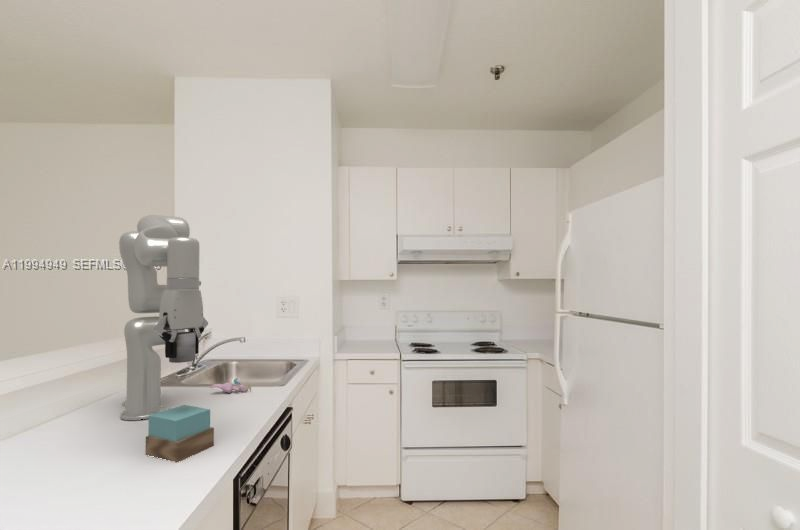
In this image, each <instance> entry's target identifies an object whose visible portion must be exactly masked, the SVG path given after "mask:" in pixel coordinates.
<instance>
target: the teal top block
mask: <svg viewBox="0 0 800 530" xmlns="http://www.w3.org/2000/svg"><path fill="white" fill-rule="evenodd" d="M210 427H211V409H210V408H204V407H200V406H199V407H198V406H194V405H193V406H192V405H187V404H183V405H179V406H176V407H172V408H170V409H166V410H165V411H162V412H159V413H156V414H152V415H149V418H148V432H147V433H148V435H147V436H151V437H156V438H160V439H165V440H169V441H174V442H177V441H179V440H182V439H185V438H187V437H190V436H192V435H195V434H197V433H200V432H203V431H205V430H208V429H210Z"/></svg>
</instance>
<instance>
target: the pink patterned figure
mask: <svg viewBox="0 0 800 530" xmlns="http://www.w3.org/2000/svg"><path fill="white" fill-rule="evenodd" d="M238 380H239V378H237V377H235V378H234V379H233V384H235V385H238V386H233V384H232V383H230V382H225V383H223V384H222V383H215V384H212V385H210V389H214V388H219V389H221V390H222V391H223V392H224V393H227V394H230V393H232V392H233V391H235V392H241V393H247V392H248V389H249V392H250V393H251V391H252V386H250V385H245V384H243V383H242V382H240V381H238Z"/></svg>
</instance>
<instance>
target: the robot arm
mask: <svg viewBox="0 0 800 530" xmlns="http://www.w3.org/2000/svg"><path fill="white" fill-rule="evenodd" d="M190 231H191V228H190V224H189V223H188V221H187V220H186V219H185V218H183V217H180V216H172V215H171V216H169V215H161V214H159V215H158V214H149V215H144V216H143V217H141V218H140V219H139V220H138V222H137V225H136V231H135V230H134V231H133V230H131V231H126V232H123V234H122V235H120V237H119V242H118V244H119V245H118V248H119V254H120V258H121V260H122V263H123V265H124V267H125V271H126V275H127V295H128V296H127V298H128V306H129V310H130V311H131V312H132V313H135V314H156V313H157V314H158V315H157V316H141V317H136V318H132V319H130V320H128V321H127V322H126V323H125V325H124V327H123V328H124V329H123V333H124V340H125V347H126V348H125V349H126V400H125V401H123V402H121V403H120V406H121V407H124V411H123V412H121V413H120V415H119V417H120V419H121V420H123V421H124V420H125V421H142V420H141V419H143V420H147V419H148V420H149V415H152V414H156V413H159V412H162V411H165V410H167V409H166V407H165V406H163V405H161V386H162V385H161V383H162V381H161V380H162V373H161V372H162V358H161V356H160V354H158V352H157V351H156V350H155V349H154V348H153V347H154V346H155V347H156V346H161V345H162V346H163V345H164V346H165V347H164V354H165V355H164V356H165V358H167V359H169V358H176V356H177V343H176V342H174V340H175V337H176V335H177V332H186V330H187V332H196V344H195V355H199V352H200V351H199V343H200V338H201V337H202V335H203V332H204V331H205V329H206V328H207V326H209V321H208V320H207V319H206V318H205V317H204V305H203V304H204V303H203V298H202V292H201V290H200V286H201V285H202V281H201V280H200V249H201V248H200V242H199V240H198V239H197V238H193V237H190V233H191V232H190ZM155 267H165V268H166V284H159V283H158V273H157V272H158V271H157V270H156V268H155ZM170 333H171V335H170Z"/></svg>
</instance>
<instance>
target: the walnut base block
mask: <svg viewBox="0 0 800 530" xmlns="http://www.w3.org/2000/svg"><path fill="white" fill-rule="evenodd" d="M214 441H215V428H214V427H212V426H210V429H208V430H205V431H203V432H200V433H197V434H195V435H192V436H190V437H187V438H185V439H182V440H179V441H177V442H174V441H169V440H165V439H160V438H156V437H151V436H148V435H147V436H145V455H149V456H154V457H158V458H162V459H161V460H163V459H166V460H165V461H168V460H170V462H173V461H175V462H174V463H177V462H178V463H180V462H182V461H185V460H186V458H187V459H189V458H190V456H191V457H193V456H195V455H197V454H199V453H202V452H203V451H205V450H208V449H210V448H212V447H214V446H215V443H214ZM201 451H202V452H201ZM192 455H193V456H192ZM149 456H148V457H149ZM154 457H153V458H154ZM188 457H189V458H188ZM158 458H157V459H158ZM179 461H180V462H179Z"/></svg>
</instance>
